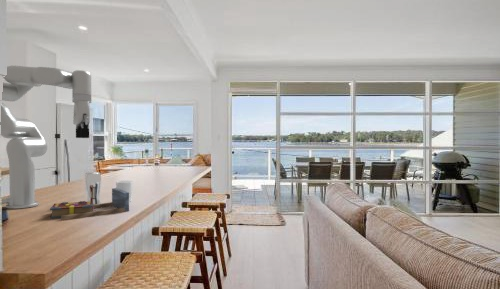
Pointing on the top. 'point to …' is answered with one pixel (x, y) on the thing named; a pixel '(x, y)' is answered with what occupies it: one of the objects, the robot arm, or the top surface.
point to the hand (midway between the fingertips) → (82, 137)
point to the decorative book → (71, 208)
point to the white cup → (125, 187)
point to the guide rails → (118, 200)
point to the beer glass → (93, 186)
